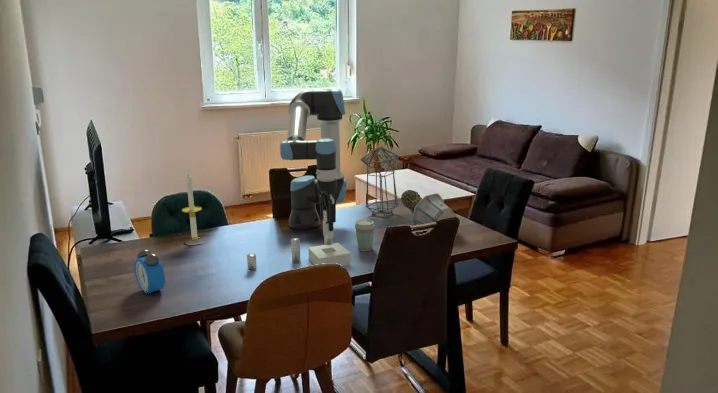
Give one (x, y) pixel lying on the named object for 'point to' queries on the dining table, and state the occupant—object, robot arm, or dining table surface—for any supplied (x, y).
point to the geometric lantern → (381, 179)
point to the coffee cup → (365, 234)
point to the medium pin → (295, 250)
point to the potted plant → (426, 207)
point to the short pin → (251, 262)
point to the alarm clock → (149, 271)
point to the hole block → (329, 254)
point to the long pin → (326, 241)
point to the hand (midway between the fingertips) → (328, 236)
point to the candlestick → (191, 208)
